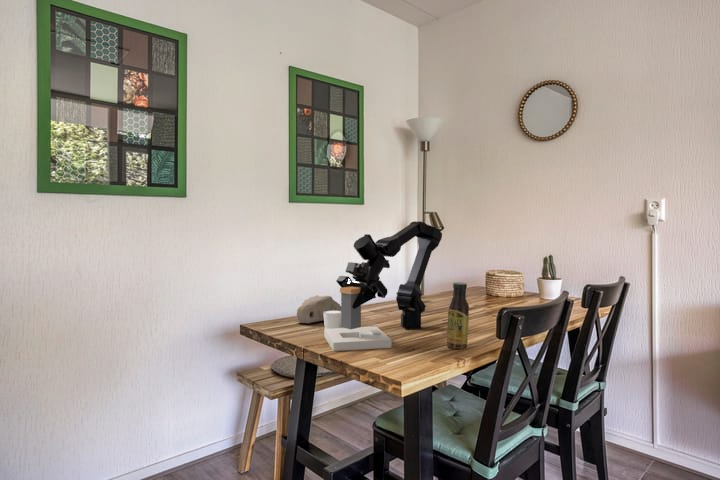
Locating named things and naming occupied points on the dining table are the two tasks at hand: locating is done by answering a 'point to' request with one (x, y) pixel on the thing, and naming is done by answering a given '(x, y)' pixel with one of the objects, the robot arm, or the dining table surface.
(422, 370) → the dining table surface
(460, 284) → the sauce bottle
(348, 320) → the plug
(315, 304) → the decorative stone
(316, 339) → the dining table surface
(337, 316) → the white tapered cup
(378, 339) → the socket plate
